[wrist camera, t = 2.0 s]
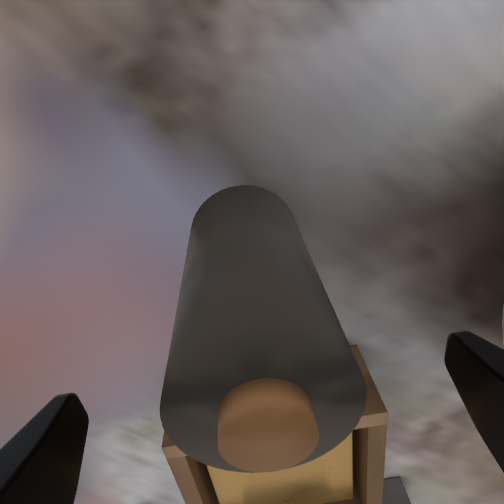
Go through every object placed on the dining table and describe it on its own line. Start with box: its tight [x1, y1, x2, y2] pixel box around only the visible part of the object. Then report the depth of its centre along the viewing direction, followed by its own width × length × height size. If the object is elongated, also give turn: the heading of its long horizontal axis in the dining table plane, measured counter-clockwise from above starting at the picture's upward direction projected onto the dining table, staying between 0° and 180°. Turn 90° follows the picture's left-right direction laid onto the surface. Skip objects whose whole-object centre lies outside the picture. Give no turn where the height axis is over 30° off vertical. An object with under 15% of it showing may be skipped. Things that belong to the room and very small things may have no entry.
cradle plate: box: [207, 432, 353, 504], centre depth 19 cm, size 7×7×1 cm
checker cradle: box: [162, 345, 388, 504], centre depth 19 cm, size 10×10×4 cm
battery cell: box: [160, 186, 367, 473], centre depth 11 cm, size 4×4×9 cm
